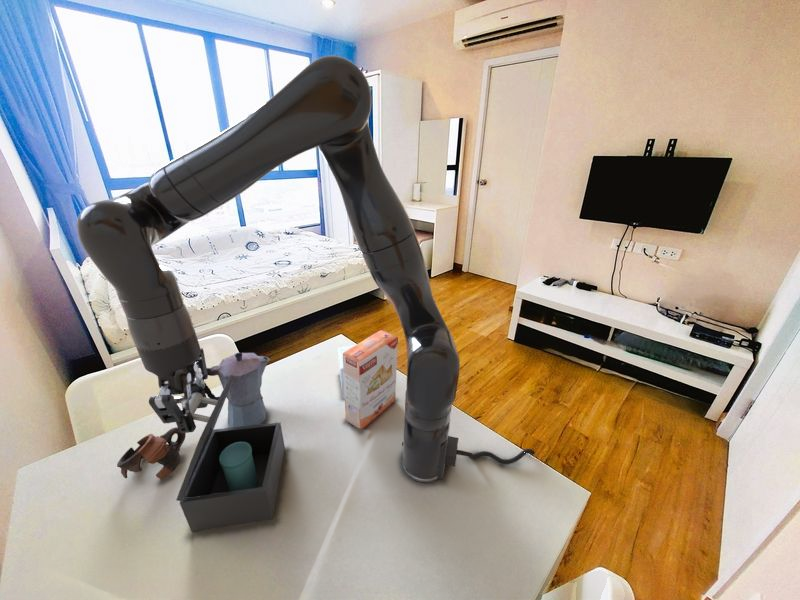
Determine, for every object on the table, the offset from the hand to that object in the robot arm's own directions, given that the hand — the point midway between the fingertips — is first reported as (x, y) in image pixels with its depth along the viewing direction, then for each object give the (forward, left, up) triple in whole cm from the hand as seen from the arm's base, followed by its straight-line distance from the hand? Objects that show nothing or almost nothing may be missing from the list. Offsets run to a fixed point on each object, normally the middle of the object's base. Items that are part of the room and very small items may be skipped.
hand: (195, 417), depth 56 cm
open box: (-4, -2, -19) cm, 20 cm away
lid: (-1, -1, -4) cm, 4 cm away
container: (-4, -2, -19) cm, 19 cm away
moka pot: (+7, -17, -20) cm, 27 cm away
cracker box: (-22, -29, -20) cm, 41 cm away
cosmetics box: (-13, -37, -20) cm, 44 cm away
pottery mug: (+17, -2, -20) cm, 26 cm away
